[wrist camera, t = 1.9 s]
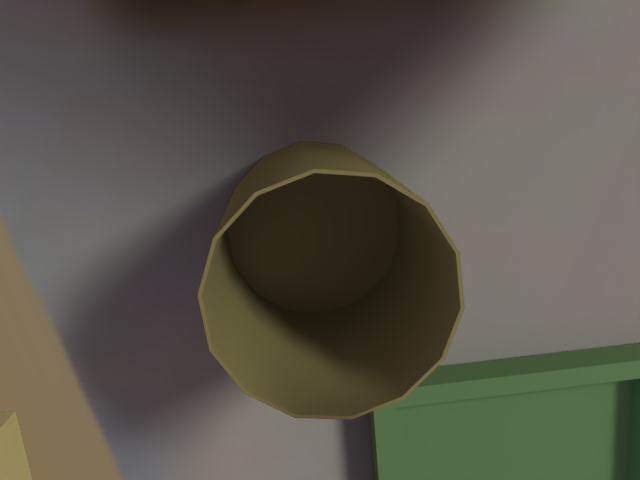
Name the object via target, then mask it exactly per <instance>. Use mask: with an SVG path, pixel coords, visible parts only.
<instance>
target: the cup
mask: <svg viewBox="0 0 640 480" xmlns="http://www.w3.org/2000/svg"><path fill="white" fill-rule="evenodd" d="M198 300H199V305H200V310H201V314H202V319H203V324H204V328H205V333H206V338H207V342H208V347H209V351H210V352H211V353H212V354H213V356H214V357H215V358H216V359H217V361H218V362H219V363H220V364H221V366H222V367H223V368H224V369H225V370H226V372H227V373H228V374H229V375H230V377H231V378H232V379H233V380H234V382H235V383H236V384H237V385H238V387H239V388H240V389H241V390H242V391H243V393H244V394H246V395H248V396H250V397H252V398H254V399H256V400H258V401H261V402H263V403H265V404H267V405H269V406H271V407H273V408H275V409H277V410H279V411H282V412H284V413H286V414H288V415H290V416H292V417H294V418H314V419H347V420H352V419H354V418H357V417H360V416H362V415H365V414H367V413H370V412H372V411H375V410H378V409H380V408H383V407H385V406H388V405H391V404H393V403H396V402H398V401H401V400H403V399H405V398H406V397H407V396H408V395H409V394H410V393H411V392H412V391H413V390H414V389H415V388H416V387H417V386H418V385H419V384H420V383H421V382H422V381H423V380H424V379H425V378H426V377H427V376H428V375H429V374H430V373H432V372H433V371H434V370H435V369H436V368H437V367H438V366H439V365H440V364H441V363H442V362H443V361H444V360H445V357H446V354H447V352H448V349H449V347H450V344H451V342H452V339H453V336H454V334H455V331H456V329H457V326H458V323H459V321H460V318H461V316H462V313H463V311H464V297H463V285H462V274H461V262H460V252H459V251H458V249H457V247H456V246H455V244H454V243H453V241H452V239H451V238H450V236H449V235H448V233H447V232H446V230H445V228H444V227H443V225H442V224H441V222H440V221H439V219H438V217H437V216H436V214H435V213H434V211H433V210H432V208H431V206H430V205H429V203H427V202H426V201H424V200H423V199H422V198H420V197H419V196H417V195H416V194H415V193H413V192H412V191H411V190H409V189H408V188H406V187H405V186H404V185H402V184H401V183H399V182H398V181H397V180H395V179H394V178H393V177H391V176H390V175H388V174H387V173H386V172H384V171H383V170H381V169H380V168H379V167H377V166H376V165H374V164H373V163H371V162H369V161H368V160H366V159H364V158H363V157H361V156H359V155H357V154H356V153H354V152H352V151H351V150H349V149H347V148H346V147H344V146H342V145H340V144H326V143H312V142H298V143H296V144H293V145H291V146H288V147H286V148H283V149H281V150H278V151H276V152H273V153H271V154H268V155H266V156H263V157H262V158H261V159H260V160H259V161H258V162H257V164H256V165H255V166H254V167H253V168H252V169H251V170H250V171H249V172H248V174H247V175H246V176H245V177H244V178H243V179H242V180H241V181H240V182H239V184H238V185H237V186H236V187H235V190H234V192H233V194H232V196H231V199H230V201H229V203H228V206H227V208H226V210H225V212H224V215H223V217H222V219H221V221H220V224H219V226H218V228H217V230H216V233H215V235H214V237H213V240H212V244H211V248H210V251H209V255H208V258H207V262H206V266H205V269H204V273H203V277H202V280H201V284H200V287H199V291H198Z"/></svg>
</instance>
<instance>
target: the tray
mask: <svg viewBox="0 0 640 480" xmlns="http://www.w3.org/2000/svg"><path fill="white" fill-rule="evenodd" d="M370 426H371V439H372V452H373V465H374V478H375V480H640V343H634V344H625V345H617V346H608V347H600V348H591V349H583V350H574V351H566V352H557V353H549V354H540V355H532V356H523V357H515V358H506V359H498V360H489V361H481V362H472V363H464V364H455V365H447V366H438V367H437V368H436V369H435V370H434V371H433V372H432V373H430V374H429V375H428V376H427V377H426V378H425V379H424V380H423V381H422V382H421V383H420V384H419V385H418V386H417V387H416V388H415V389H414V390H413V391H412V392H411V393H410V394H409V395H408V396H407V397H406V398H405V399H403V400H401V401H398V402H396V403H393V404H391V405H388V406H385V407H383V408H380V409H378V410H375V411H372V412H370Z"/></svg>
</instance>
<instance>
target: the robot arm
mask: <svg viewBox="0 0 640 480" xmlns="http://www.w3.org/2000/svg"><path fill="white" fill-rule="evenodd" d="M0 480H32V478H31V473H30V469H29V465H28V461H27V457H26V453H25V449H24V445H23V441H22V437H21V433H20V429H19V425H18V421H17V417H16V413H15V411H10V412H1V413H0Z"/></svg>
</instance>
